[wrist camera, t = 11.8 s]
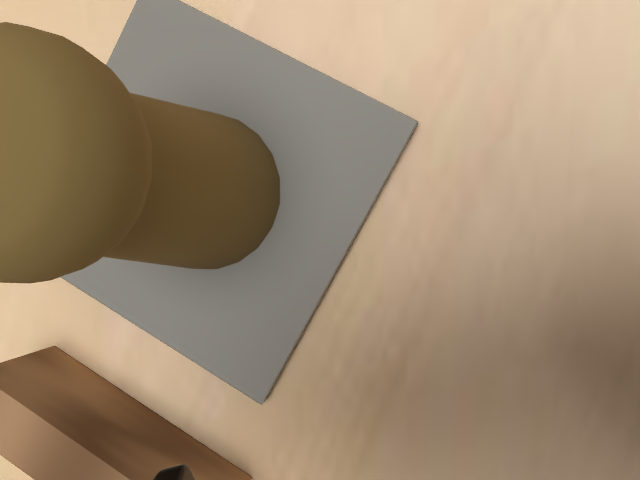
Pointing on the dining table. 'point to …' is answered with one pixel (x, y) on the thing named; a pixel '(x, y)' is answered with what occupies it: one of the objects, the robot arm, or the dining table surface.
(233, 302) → the grey mat
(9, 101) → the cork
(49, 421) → the walnut divider
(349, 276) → the dining table surface
